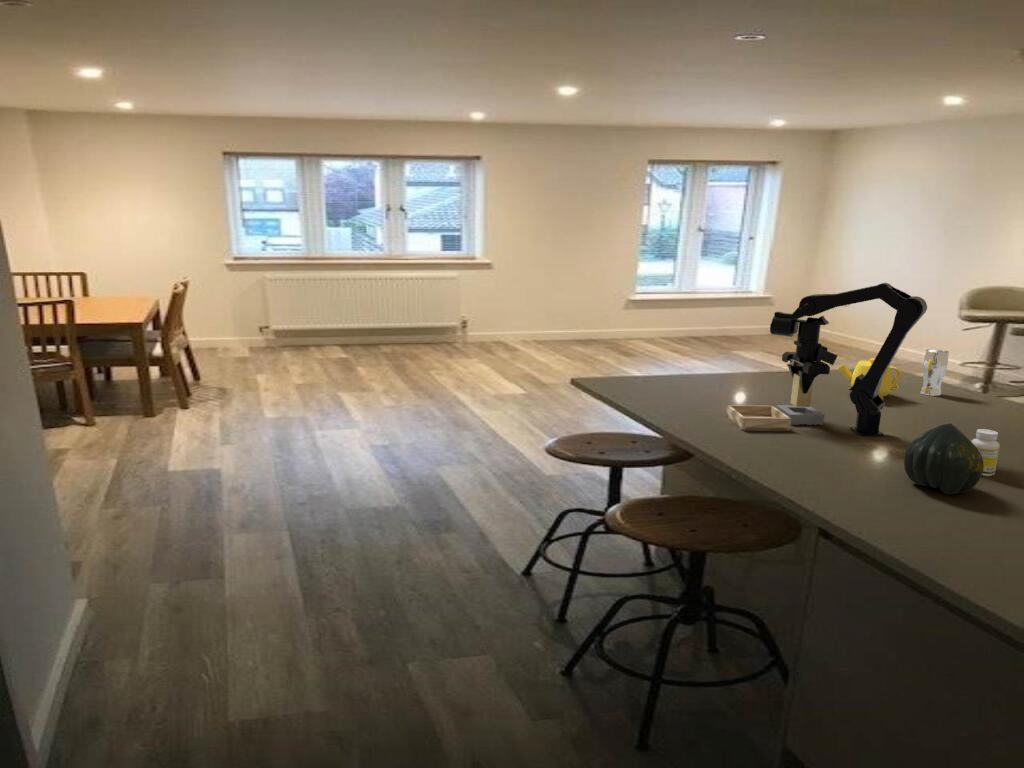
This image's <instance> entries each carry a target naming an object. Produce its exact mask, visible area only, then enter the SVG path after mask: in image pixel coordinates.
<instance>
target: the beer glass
mask: <svg viewBox="0 0 1024 768" xmlns="http://www.w3.org/2000/svg"><path fill="white" fill-rule="evenodd" d="M925 351H926V352H925V355H924V358H923V366H922V369H923V370H922V372H923V373H922V374H923V381H922V386H921V388H920V394H921V395H924V396H925V395H926V396H929V395H930V397H940V396H941V395H942V382H943V380H944V377H945V374H946V371H947V369H948V365H949V363H948V362H949V351H948V350H944V349H938V348H937V349H933V348H931V349H930V348H929V349H928V348H927V349H925Z"/></svg>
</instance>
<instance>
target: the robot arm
mask: <svg viewBox="0 0 1024 768" xmlns="http://www.w3.org/2000/svg"><path fill="white" fill-rule="evenodd" d="M878 299H879V300H881V301H882V302H885V304H887V305H888V306H889V307H891V308H892V309H893V310H896V312H895V315H894V320H893V324H892V327H891V330H890V331H889V333H888V335H887V336H886V338H885V340H884V342H883V344H882V345H881V347H880V349H879V351H878V353H877V355H876V356H875V357H874V358H875V360H874V362H873V363H872V365H871V367H870V369H869V371H868V372H867V374H866V375H865V376H864V375H863V374H861V375H859V376H858V377H856V379H855V382H854V385H853V386H852V388H851V387H850V388H849V389H848V390H849V391H850V393H849V399H850V401H851V403H852V404H854V407H855V410H856V419H855V426H849V429H850V430H851V431H853V432H855V433H857V434H858V435H860V436H884V432H882V431H880V424H881V418H882V412H881V411H882V410H883V408H884V406H885V405H886V402H885V401H884V400H882V399H881V397H880V396H879V395H878V392H879V389H880V386H881V382H882V378H883V375H884V374H885V372H886V370H887V368H888V367H889V366H890V365H891V363H892V361H893V360H894V358H895V356H896V354H897V353H898V351H899V349H900V347H901V346H902V344H903V343H904V340H905V338H906V337H907V335H908V334H909V332H910V331H911V330H912V329H913V328H914V326H915V325H916V324H917V323H918V322H919V321H920V319H922V317H923V316H924V315H925V314H926V312H927V310H928V303H927V301H926V300H925V299H924V298H922V297H921V296H911V295H910V294H908V293H906V292H905V291H903V290H900V289H899V288H896V287H894V286H893V285H891V284H890V283H887V282H882V283H879V284H876V285H871V286H866V287H862V288H858V289H854V290H853V289H851V290H849V291H843V292H838V293H817V294H815V293H814V294H809V295H807V296H803V298H801V299H800V301H799V304H798V307H797V308H796V309H795V310H794V311H793V312H792V313H790V312H789V313H787V312H782V311H775V312H774V316H773V317H772V320H771V323H770V324H769V325H770V326H769V331H770V335H773V336H779V337H781V336H782V337H790V338H792V337H793V336H794V335H795V334H797V338H796V340H794V341H793V345H795V347H796V348H795V351H785V352H784V353H783V354H782V356H781V361H782V362H784V363H787V364H786V366H787V368H788V370H789V373H790V376H791V378H792V379H793V377H794V373H798V374H799V377H800V382H801V387H802V391H803V393H804V394H806V393H807V392H808V390H809V388H810V386H811V384H812V382H814V380H815V378H817V377H818V376H820V375H830V374H831V373H830V372H831V367H830V366H829V365H831V366H834V364H835V363H836V360H837V359H838V356H839V355H838V354H836V353H833V352H831V351H828V347H827V346H824V345H822V343H819V339H820V332H821V326H826V325H828V324H830V322H829V321H828V320H827V318H825V316H824V315H821V316H820V317H813V316H816V315H819V314H822V313H824V312H827V311H829V310H831V309H832V310H833V309H835V308H839V307H842V306H849V305H853V304H858V303H864V302H868V301H873V300H878ZM805 317H807V318H806V319H801V318H805ZM788 362H789V363H788Z"/></svg>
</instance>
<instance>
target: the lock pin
mask: <svg viewBox="0 0 1024 768" xmlns="http://www.w3.org/2000/svg"><path fill="white" fill-rule="evenodd" d="M813 382H814V381H813ZM813 382H812V384H811V386H810V388H809V390H808V392H807V393H806V394H804V393H803V391H802V387H801V382H800V377H799V374H798V373H794V377H793V378H792V388H791V397H790V404H791V405H794V406H796V407H810V406H811V398H812V392H813V386H814V385H813V384H814V383H813Z"/></svg>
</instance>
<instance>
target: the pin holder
mask: <svg viewBox="0 0 1024 768" xmlns="http://www.w3.org/2000/svg"><path fill="white" fill-rule="evenodd" d="M775 408H776V409H778V410H779V411H781V412H782V413H784V414H785V415H787V416H788V417H790V418H791V426H792V425H793V426H794V425H795V426H796V425H797V426H799V424H807V426H811V425H812V424H814V425H812V426H817V425H816V424H821V425H820V426H823V425H824V420H825V414H824V413H822V412H820V411H819V410H817V409H815V408H814V407H812V406H811V405H810V407H796V406H794V405H793V404H791V405H790V404H789V405H786V404H785V405H779V404H778V405H775Z"/></svg>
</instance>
